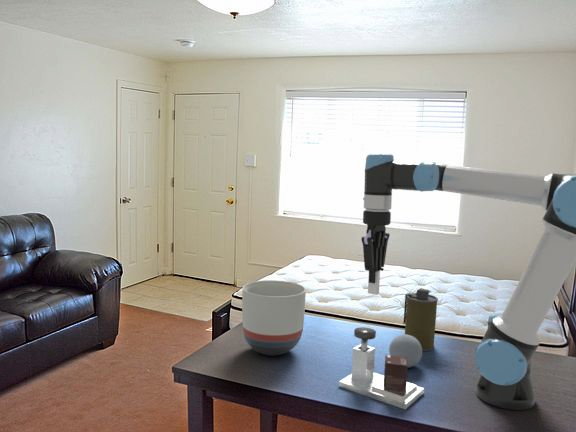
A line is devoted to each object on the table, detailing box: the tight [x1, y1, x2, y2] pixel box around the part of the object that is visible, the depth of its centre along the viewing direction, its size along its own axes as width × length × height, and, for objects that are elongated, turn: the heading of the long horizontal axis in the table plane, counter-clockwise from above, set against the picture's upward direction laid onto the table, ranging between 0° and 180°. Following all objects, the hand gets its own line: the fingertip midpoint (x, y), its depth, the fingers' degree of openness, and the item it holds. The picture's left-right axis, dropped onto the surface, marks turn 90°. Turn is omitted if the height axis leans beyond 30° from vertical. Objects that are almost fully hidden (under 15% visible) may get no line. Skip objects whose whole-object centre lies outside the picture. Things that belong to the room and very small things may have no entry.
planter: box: [241, 279, 307, 356], centre depth 166 cm, size 20×20×21 cm
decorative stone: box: [388, 333, 423, 368], centre depth 159 cm, size 10×10×10 cm
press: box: [338, 343, 425, 410], centre depth 142 cm, size 20×12×10 cm, turn 53°
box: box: [383, 354, 409, 391], centre depth 139 cm, size 6×6×7 cm
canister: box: [403, 287, 439, 352], centre depth 177 cm, size 11×10×20 cm
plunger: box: [353, 326, 377, 351], centre depth 145 cm, size 6×6×13 cm
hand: (373, 293), depth 143 cm, fingers closed
